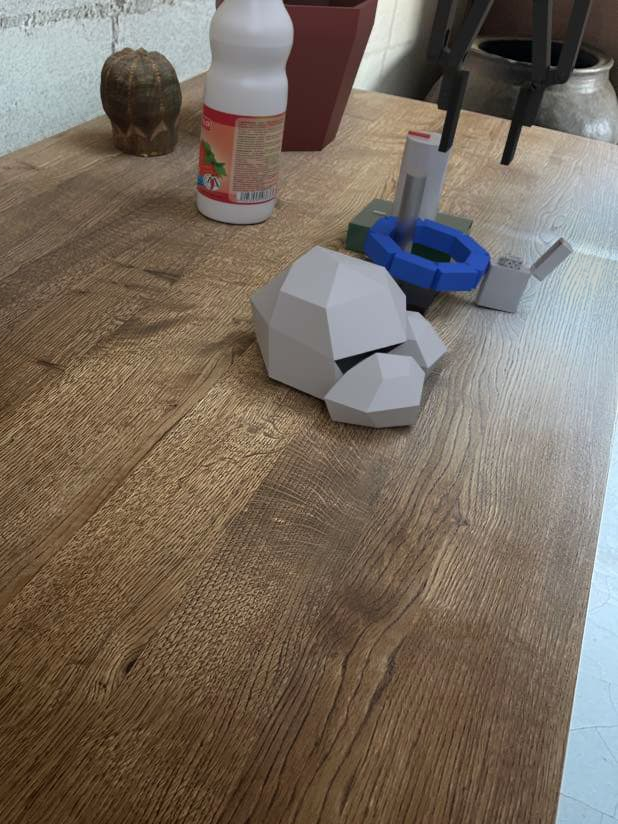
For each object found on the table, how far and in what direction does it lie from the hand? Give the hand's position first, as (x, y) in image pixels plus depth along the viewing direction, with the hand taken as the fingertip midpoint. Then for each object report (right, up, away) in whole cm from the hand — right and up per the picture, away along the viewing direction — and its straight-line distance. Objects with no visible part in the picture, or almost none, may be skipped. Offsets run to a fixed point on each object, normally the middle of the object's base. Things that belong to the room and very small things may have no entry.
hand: (475, 154), depth 86 cm
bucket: (-14, +24, +52) cm, 59 cm away
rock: (-14, -22, -5) cm, 26 cm away
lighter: (+6, -12, +10) cm, 17 cm away
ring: (-3, -8, +8) cm, 11 cm away
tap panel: (-2, -2, +21) cm, 21 cm away
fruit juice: (-22, +3, +25) cm, 34 cm away
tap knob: (-2, 0, +19) cm, 19 cm away
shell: (-35, +18, +42) cm, 57 cm away
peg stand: (-6, -10, +11) cm, 16 cm away
